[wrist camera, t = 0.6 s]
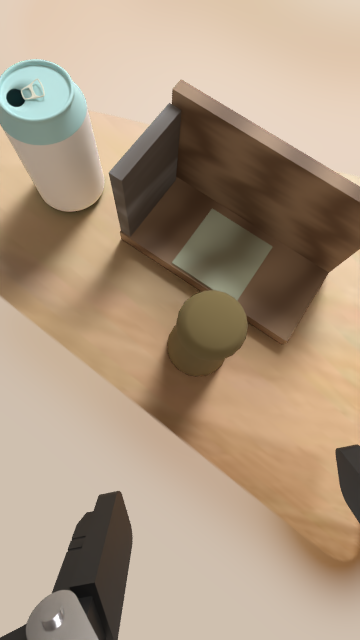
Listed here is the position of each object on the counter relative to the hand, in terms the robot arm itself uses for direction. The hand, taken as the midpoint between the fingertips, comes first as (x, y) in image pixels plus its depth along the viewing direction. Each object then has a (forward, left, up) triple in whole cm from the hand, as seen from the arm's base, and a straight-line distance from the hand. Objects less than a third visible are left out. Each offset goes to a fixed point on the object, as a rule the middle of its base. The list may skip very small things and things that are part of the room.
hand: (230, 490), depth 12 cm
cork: (-4, +8, -20) cm, 22 cm away
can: (-25, +15, -20) cm, 35 cm away
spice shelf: (-7, +18, -20) cm, 28 cm away
